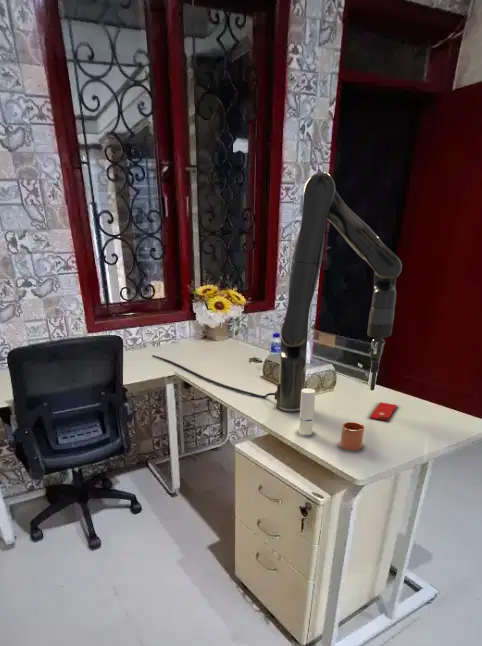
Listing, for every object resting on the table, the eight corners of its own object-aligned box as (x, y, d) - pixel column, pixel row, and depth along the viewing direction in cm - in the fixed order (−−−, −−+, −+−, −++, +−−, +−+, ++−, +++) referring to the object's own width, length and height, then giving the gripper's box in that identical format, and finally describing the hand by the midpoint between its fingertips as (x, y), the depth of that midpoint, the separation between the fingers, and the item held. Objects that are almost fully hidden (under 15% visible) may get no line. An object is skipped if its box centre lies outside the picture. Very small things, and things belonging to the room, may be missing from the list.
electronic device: (380, 403, 155) (369, 417, 145) (380, 402, 155) (369, 416, 144) (396, 406, 152) (387, 421, 141) (396, 404, 152) (387, 419, 141)
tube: (301, 429, 139) (304, 387, 133) (314, 432, 137) (317, 389, 130) (296, 434, 136) (299, 391, 129) (309, 437, 134) (312, 393, 127)
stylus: (369, 390, 147) (373, 357, 142) (370, 389, 148) (374, 356, 143) (373, 391, 146) (378, 358, 141) (374, 390, 148) (378, 357, 142)
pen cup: (338, 449, 126) (340, 428, 123) (342, 440, 131) (344, 420, 128) (359, 453, 123) (362, 432, 120) (362, 444, 128) (365, 423, 125)
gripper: (371, 316, 144) (365, 365, 151) (365, 324, 133) (359, 376, 141) (395, 317, 140) (387, 367, 148) (391, 325, 130) (383, 378, 137)
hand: (374, 371), depth 144 cm, fingers closed on stylus, 1 cm apart
